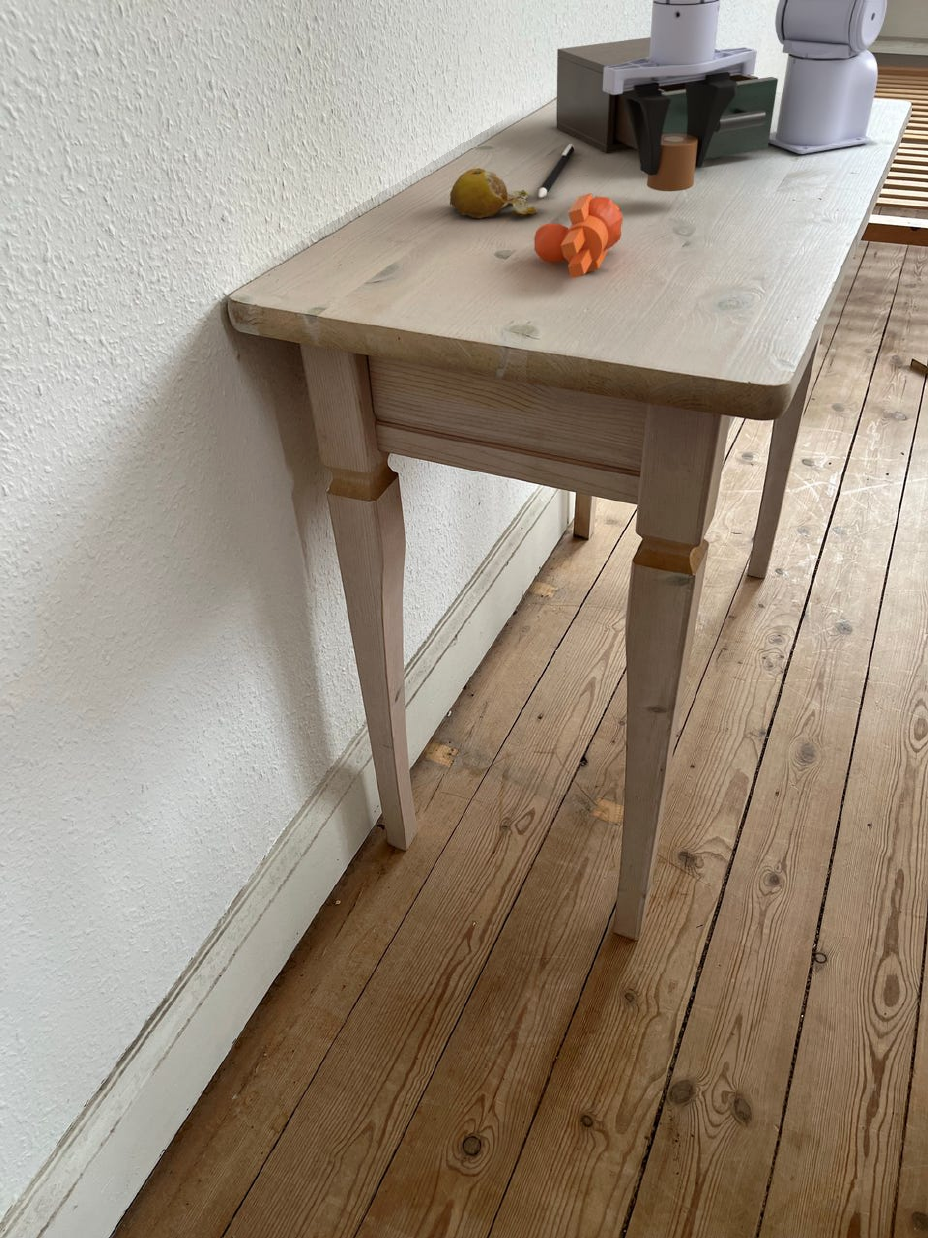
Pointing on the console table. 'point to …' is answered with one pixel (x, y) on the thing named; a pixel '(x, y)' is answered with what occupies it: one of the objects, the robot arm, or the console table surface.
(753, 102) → the drawer
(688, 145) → the brown short cylinder
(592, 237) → the orange chunky figure
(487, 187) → the fruit
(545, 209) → the console table surface
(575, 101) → the cabinet
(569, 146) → the pen
